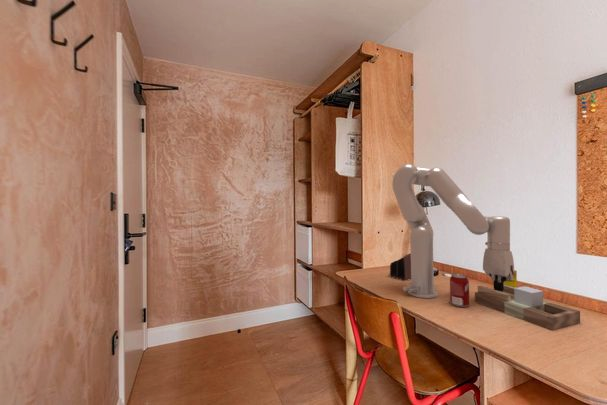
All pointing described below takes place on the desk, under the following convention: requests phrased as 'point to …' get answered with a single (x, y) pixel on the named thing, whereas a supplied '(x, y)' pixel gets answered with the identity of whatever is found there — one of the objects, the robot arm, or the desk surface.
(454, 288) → the soda can
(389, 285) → the desk surface
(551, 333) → the desk surface
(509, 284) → the supplement box
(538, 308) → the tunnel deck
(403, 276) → the letter holder
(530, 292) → the block
